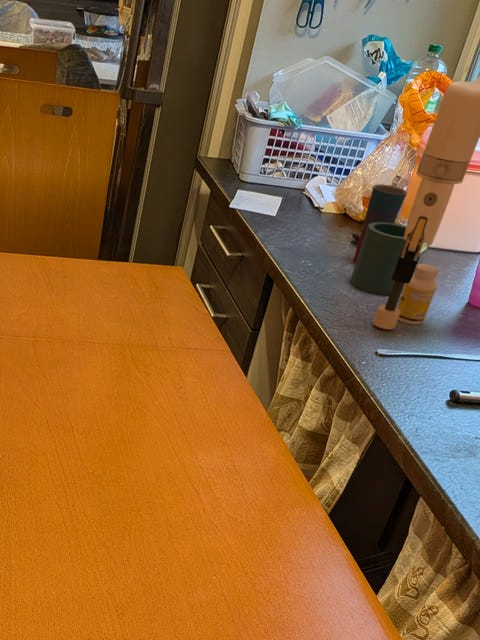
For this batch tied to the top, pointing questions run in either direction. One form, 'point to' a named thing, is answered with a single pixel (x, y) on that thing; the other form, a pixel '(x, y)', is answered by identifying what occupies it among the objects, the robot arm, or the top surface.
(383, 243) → the jar
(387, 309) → the brush
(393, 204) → the cup
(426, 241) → the robot arm
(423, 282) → the supplement bottle
